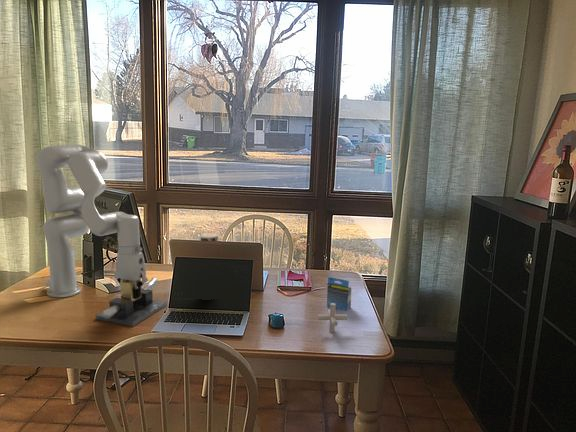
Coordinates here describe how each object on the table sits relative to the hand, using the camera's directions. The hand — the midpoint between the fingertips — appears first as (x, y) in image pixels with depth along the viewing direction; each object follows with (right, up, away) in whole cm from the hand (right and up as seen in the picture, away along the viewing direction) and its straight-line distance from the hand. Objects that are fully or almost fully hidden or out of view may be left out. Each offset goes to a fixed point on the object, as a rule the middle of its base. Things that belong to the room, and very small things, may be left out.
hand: (131, 296), depth 175 cm
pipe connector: (+73, -10, -11) cm, 74 cm away
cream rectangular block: (0, -1, 0) cm, 1 cm away
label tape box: (+78, -6, +11) cm, 79 cm away
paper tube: (+25, -3, +22) cm, 33 cm away
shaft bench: (0, -6, +1) cm, 6 cm away
